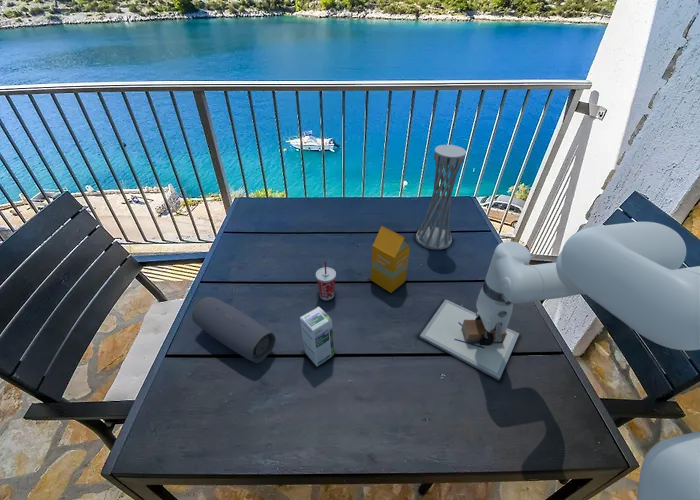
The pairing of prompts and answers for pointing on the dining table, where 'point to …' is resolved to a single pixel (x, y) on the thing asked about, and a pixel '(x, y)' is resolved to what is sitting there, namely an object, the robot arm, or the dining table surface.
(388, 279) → the orange juice
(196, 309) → the bluetooth speaker
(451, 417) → the dining table surface
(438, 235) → the grey lattice tower
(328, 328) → the syrup box
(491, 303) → the robot arm
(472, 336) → the eraser
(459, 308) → the board
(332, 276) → the beverage cup
